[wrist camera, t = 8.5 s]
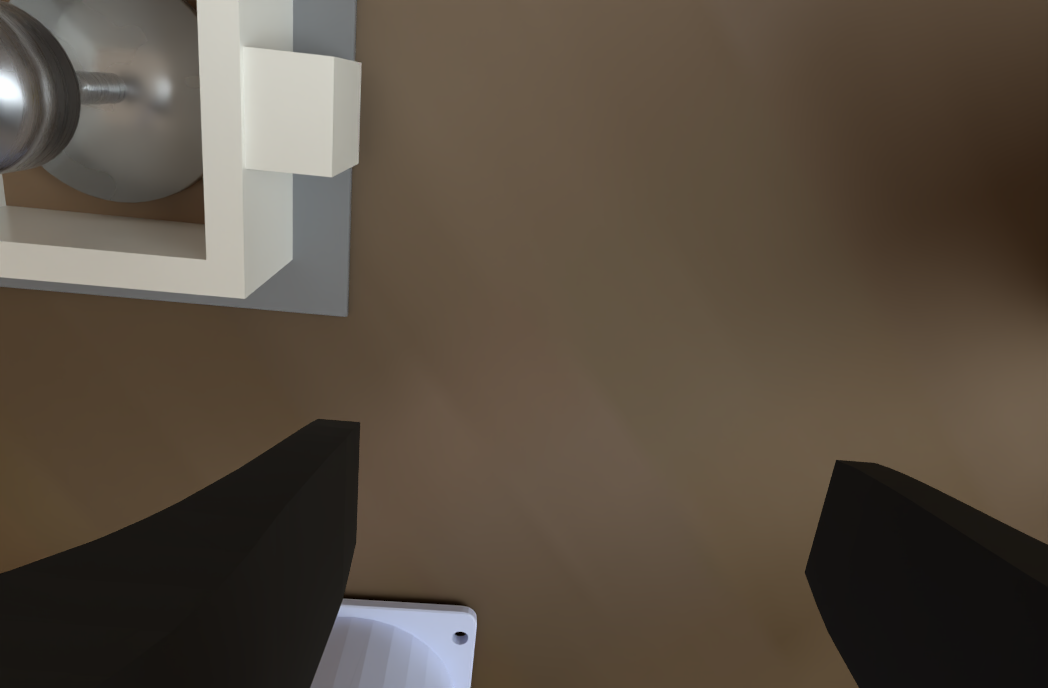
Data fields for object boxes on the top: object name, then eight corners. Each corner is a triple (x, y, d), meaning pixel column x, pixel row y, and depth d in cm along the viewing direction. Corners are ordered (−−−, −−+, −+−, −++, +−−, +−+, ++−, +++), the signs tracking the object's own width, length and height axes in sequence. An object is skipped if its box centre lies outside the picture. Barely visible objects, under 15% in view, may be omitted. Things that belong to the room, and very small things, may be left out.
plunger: (236, 209, 19) (110, 267, 13) (19, 188, 18) (-221, 237, 12) (231, -21, 17) (82, -85, 11) (-9, -48, 17) (-305, -132, 10)
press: (359, 315, 21) (326, 368, 17) (-60, 279, 20) (-200, 325, 16) (373, -131, 17) (337, -199, 13) (-137, -199, 16) (-341, -293, 12)
